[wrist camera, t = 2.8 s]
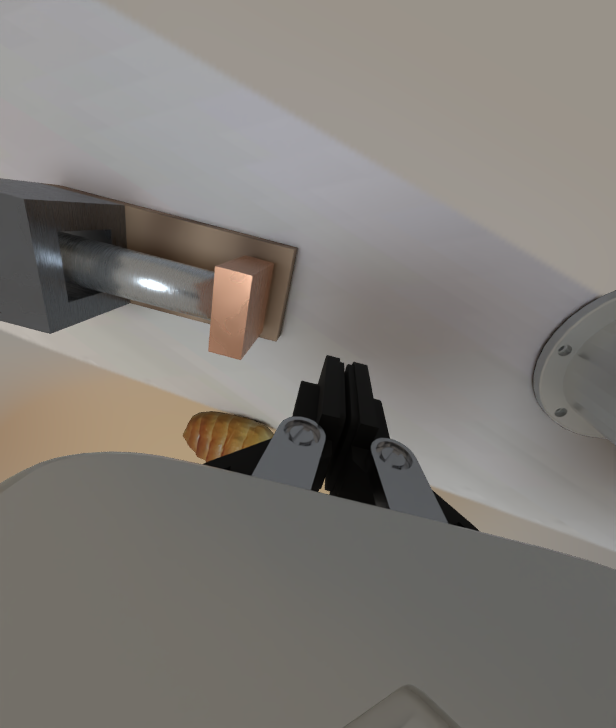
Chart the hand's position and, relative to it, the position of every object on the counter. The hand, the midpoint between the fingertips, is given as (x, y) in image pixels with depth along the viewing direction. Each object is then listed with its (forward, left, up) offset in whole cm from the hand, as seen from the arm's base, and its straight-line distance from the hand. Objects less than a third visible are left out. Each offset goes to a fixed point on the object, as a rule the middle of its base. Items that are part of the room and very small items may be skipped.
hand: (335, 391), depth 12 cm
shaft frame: (+14, 0, -12) cm, 19 cm away
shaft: (+12, 0, -10) cm, 15 cm away
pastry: (+6, +16, -13) cm, 21 cm away
